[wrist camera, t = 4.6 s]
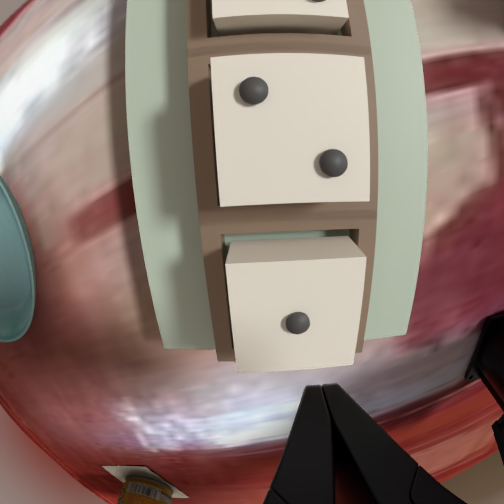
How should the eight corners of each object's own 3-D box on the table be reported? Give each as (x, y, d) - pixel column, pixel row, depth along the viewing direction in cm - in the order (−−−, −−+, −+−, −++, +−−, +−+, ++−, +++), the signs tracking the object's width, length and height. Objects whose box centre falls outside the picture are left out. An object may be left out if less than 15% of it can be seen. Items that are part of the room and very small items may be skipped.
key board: (394, 317, 18) (414, 348, 15) (172, 329, 18) (157, 364, 15) (385, -32, 10) (407, -57, 7) (142, -27, 11) (121, -54, 8)
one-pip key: (340, 332, 15) (353, 367, 12) (239, 338, 15) (236, 375, 12) (347, 235, 13) (368, 258, 10) (231, 241, 13) (224, 266, 10)
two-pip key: (348, 189, 12) (371, 202, 10) (227, 194, 12) (219, 208, 10) (344, 71, 10) (365, 55, 8) (219, 73, 11) (209, 55, 8)
